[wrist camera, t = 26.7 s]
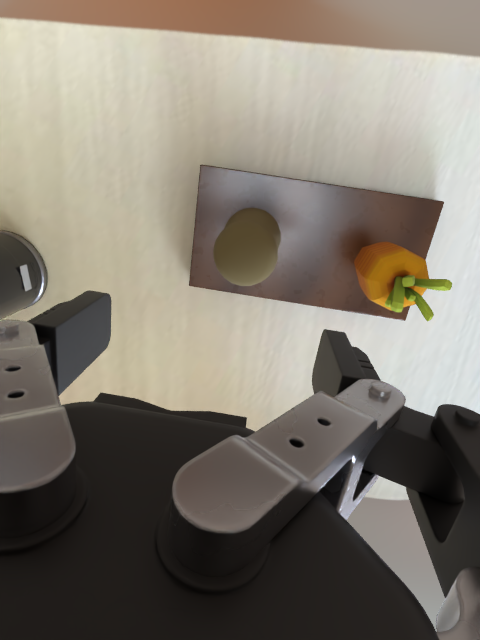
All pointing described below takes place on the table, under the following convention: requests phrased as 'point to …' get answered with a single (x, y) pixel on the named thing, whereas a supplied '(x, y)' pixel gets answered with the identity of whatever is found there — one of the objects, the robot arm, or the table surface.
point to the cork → (247, 247)
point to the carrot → (395, 277)
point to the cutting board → (309, 235)
